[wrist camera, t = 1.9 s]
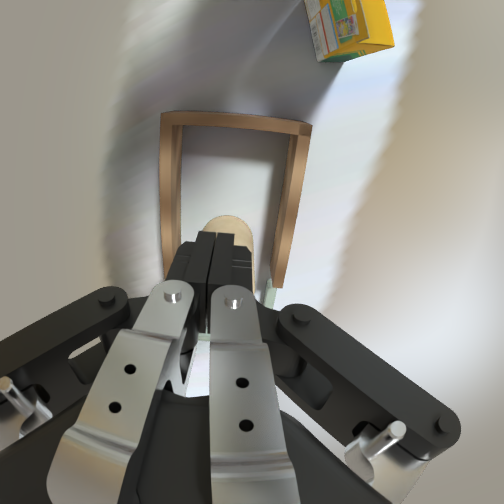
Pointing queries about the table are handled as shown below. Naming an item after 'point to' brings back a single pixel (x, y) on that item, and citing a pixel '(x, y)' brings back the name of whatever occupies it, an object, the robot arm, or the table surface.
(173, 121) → the cubby
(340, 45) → the crayon box
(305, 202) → the table surface
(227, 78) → the table surface
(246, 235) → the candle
